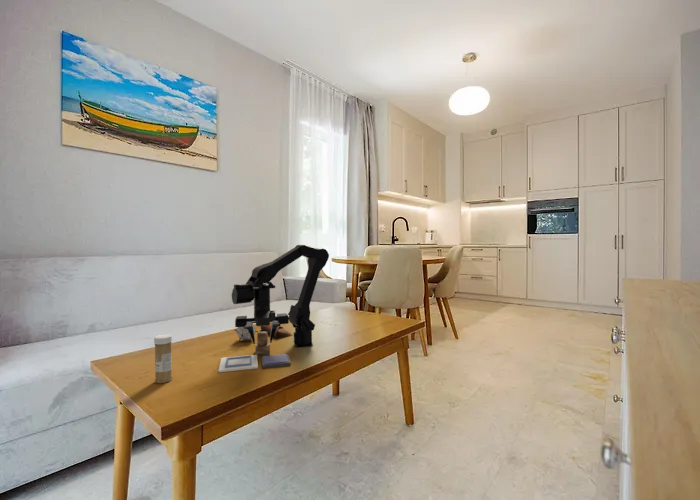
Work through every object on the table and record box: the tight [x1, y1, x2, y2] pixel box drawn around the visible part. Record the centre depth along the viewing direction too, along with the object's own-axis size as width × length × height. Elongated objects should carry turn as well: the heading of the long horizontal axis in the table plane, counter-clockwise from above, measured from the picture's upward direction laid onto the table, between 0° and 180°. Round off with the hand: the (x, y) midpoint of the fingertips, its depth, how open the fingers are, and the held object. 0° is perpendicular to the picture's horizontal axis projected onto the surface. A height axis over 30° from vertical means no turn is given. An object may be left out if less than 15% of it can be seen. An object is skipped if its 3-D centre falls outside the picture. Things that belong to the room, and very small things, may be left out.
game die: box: [233, 323, 259, 342], centre depth 141 cm, size 9×8×10 cm
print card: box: [217, 354, 259, 373], centre depth 115 cm, size 12×12×1 cm
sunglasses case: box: [260, 322, 294, 340], centre depth 153 cm, size 18×7×7 cm
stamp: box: [254, 330, 271, 357], centre depth 126 cm, size 5×5×8 cm
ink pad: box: [261, 353, 292, 369], centre depth 116 cm, size 9×9×1 cm
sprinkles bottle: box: [153, 333, 173, 384], centre depth 101 cm, size 5×5×13 cm
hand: (262, 343), depth 126 cm, fingers open, 6 cm apart
